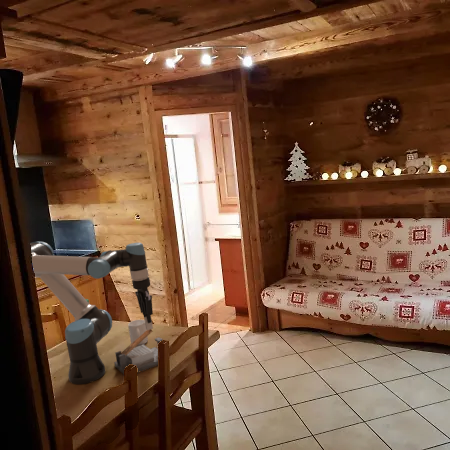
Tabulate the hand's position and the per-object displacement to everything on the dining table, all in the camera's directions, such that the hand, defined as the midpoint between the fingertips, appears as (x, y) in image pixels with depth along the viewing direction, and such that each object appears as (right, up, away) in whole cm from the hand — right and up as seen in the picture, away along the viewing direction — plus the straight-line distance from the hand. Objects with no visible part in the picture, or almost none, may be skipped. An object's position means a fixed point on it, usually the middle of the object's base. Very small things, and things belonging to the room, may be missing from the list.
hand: (149, 329), depth 198 cm
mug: (-8, -12, +21) cm, 26 cm away
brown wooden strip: (-5, -6, -3) cm, 9 cm away
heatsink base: (-3, -15, -1) cm, 15 cm away
